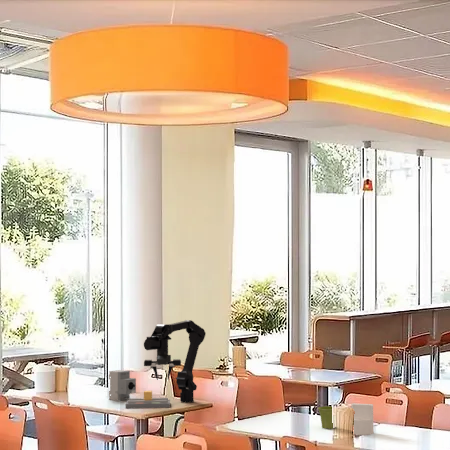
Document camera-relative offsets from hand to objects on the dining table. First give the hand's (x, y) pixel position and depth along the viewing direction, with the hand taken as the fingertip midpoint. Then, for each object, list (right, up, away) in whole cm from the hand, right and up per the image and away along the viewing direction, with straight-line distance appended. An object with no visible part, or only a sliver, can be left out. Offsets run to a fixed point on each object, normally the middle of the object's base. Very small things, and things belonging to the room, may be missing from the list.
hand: (162, 379), depth 483 cm
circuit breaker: (-22, -15, +22) cm, 35 cm away
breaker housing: (-7, -13, -1) cm, 15 cm away
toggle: (-7, -11, -1) cm, 13 cm away
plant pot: (+77, -9, -72) cm, 106 cm away
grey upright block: (+89, -9, -86) cm, 124 cm away
